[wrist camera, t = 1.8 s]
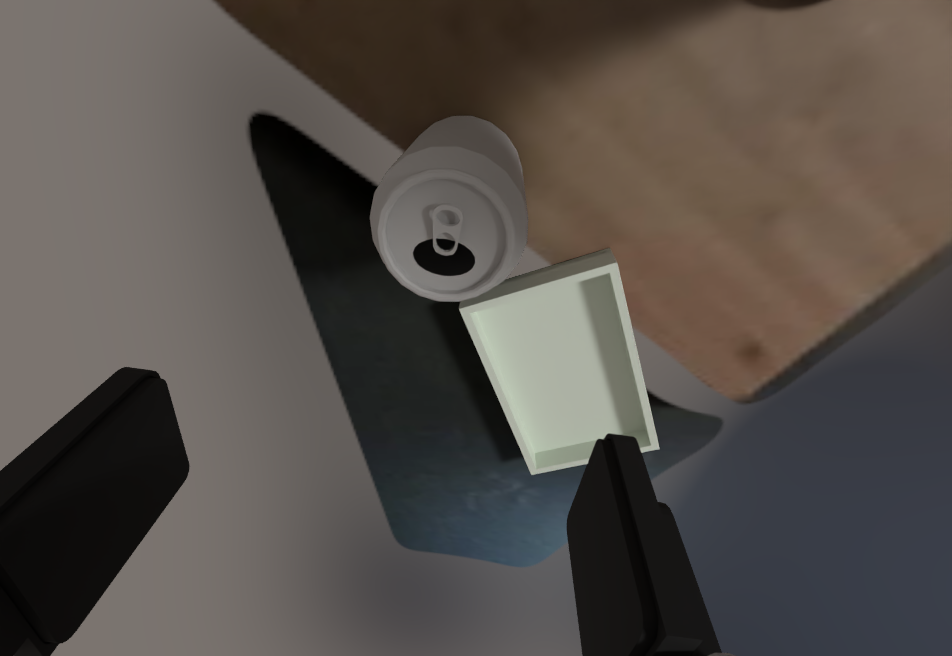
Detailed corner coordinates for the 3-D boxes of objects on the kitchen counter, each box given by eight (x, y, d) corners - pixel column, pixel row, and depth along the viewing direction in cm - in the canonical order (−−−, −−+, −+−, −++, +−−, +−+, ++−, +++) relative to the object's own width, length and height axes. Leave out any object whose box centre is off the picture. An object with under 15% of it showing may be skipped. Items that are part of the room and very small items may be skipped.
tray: (461, 292, 35) (458, 309, 33) (609, 247, 33) (617, 262, 31) (530, 453, 44) (531, 474, 42) (651, 427, 41) (659, 448, 39)
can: (405, 221, 33) (359, 303, 22) (412, 103, 29) (360, 140, 18) (510, 237, 33) (513, 326, 23) (532, 123, 29) (547, 169, 19)
